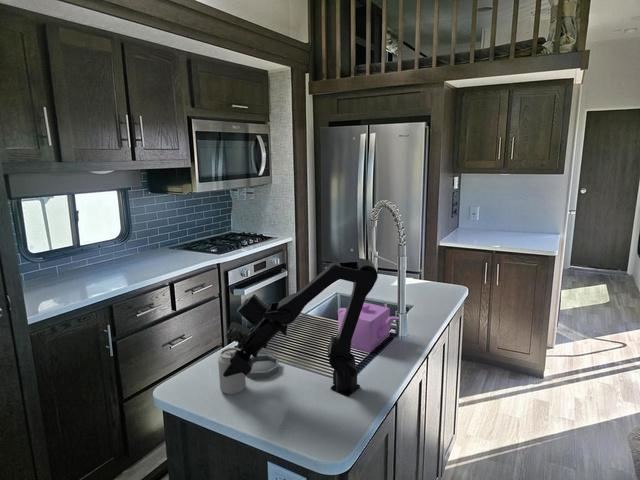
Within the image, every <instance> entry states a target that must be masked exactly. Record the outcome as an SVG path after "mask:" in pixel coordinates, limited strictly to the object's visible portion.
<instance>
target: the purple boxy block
mask: <svg viewBox="0 0 640 480" xmlns="http://www.w3.org/2000/svg"><path fill="white" fill-rule="evenodd" d="M346 309H347V307H341V308H339V309H338V310H337V314H338V317H337V320H338V325H337V326H338V330H337V331H338V333H339V331H340V328H341V325H342V322H343V319H344V316H345V312H346ZM399 319H400V317H399V316H391V308H390V307H386V306H382V305H378V304H373V303H368V302H365V301H364V304H363V307H362V310H361V313H360V316H359V319H358V322H357V325H356V328H355V331H354V334H353V337H352V340H351V349H354V348H355V350H358V349H359V350H358V351H361V350H362V351H361V352H364V351H366V352H365V353H367V352H371V351H372V350H373V349H374V348H376V347H377V346H378V345H379V344H380V343H381V342H383V341H384V340H385V339H386V338H388V337H389V338H390V329H391V326H392V323H393V322H394V321H396V320H399ZM338 333H337V334H338ZM389 338H388V339H389ZM386 340H387V339H386ZM386 340H385V341H386ZM385 341H384V342H385ZM384 342H383V343H384ZM380 345H381V344H380ZM380 345H379V346H380ZM379 346H378V347H379ZM378 347H377V348H378ZM377 348H376V349H377ZM374 350H375V349H374ZM374 350H373V351H374ZM373 351H372V352H373ZM372 352H371V353H372Z"/></svg>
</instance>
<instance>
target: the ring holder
mask: <svg viewBox="0 0 640 480" xmlns="http://www.w3.org/2000/svg"><path fill="white" fill-rule="evenodd" d="M250 358H251V359H252V360H253V366H252V369H251V371H250V372H249V373H248V374H247V375H245V377H247V378H250V379H251V380H259V379H260V380H261V379H269V378H270V377H272V376H274V375H276V374H278V373H279V372H280V370H279V369H280V367H279V365H280V362H279V361H280V360H279V358H278V357H276V356H273V355H271V354H269V353H267V354H258V355H257V356H256V357H255V358H254V357H253V356H252V355H251V357H250Z"/></svg>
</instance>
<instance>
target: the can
mask: <svg viewBox="0 0 640 480" xmlns="http://www.w3.org/2000/svg"><path fill="white" fill-rule="evenodd" d="M236 350H240V349H238V348H237V347H227V348H225V349H223V350H221V351H220V353H219V356H218V357H217V361H218V363H217V364H218V375H219V376H218V377H219V389H220V391H221V392H222V393H224V394H226V395H236V394H239V393H240V392H242V391H243V390H244V389H245V388H246V376H245V375H244V374H243V373H238V374H235V375H231V376H228V377H225V376H223V373H224V372H225V371H226V369H227V368H228V366H229V365H230V364H231V362H230V358H231V356H232V354H234V352H235V351H236Z"/></svg>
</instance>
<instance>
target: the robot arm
mask: <svg viewBox="0 0 640 480" xmlns="http://www.w3.org/2000/svg"><path fill="white" fill-rule="evenodd" d="M378 277H379V273H378V271H377V269H376V266H375V264H374V263H373V262H372V261H371V260H368V259H361V260H359V261H344V262H343V261H333V262H330V264H329V265H328V266H327V267H326V268H325V269H323V271H322V272H320V273H318V275H316V276H315V277H314V278H312V280H311V281H310V282H308V283H307V284H305V285H304V286H303V287H302V288H301V289H300V290H298V291H296V292H294V293H291V294H289V295H288V296H286V297H284V298H282V299H281V300H280V301H275V302H269V303H267V305H266V304H265V303H264V302H263V301H262V300H260V298H259V297H258V296H257V295H256V294H255V293H254V294H252V295H251V296H249V297H248V298H246V299H245V300H244V301H243V302H242V303H241V305H240V306H239V307H238V308H237V310H236V312H237V313H238V314H239V315H240V316H242V317H243V318H244V319H245V320H246V321H247V322H248V323H250V325H254V326H252V327H251V328H248V327H247V326H245V325H243V324H240V323H238V322H235V321H231V324H230V326H229V328H228V329H227V333H226V334H225V337H226V338H227V339H228V340H230V341H233V342H236V343H237V347H236V348H238V349H240V350H236V351H235V352H234V354H232V356H231V358H230V362H231V364H230V365H229V366H228V368H227V369H226V371H225V372H224V373H223V376H225V377H228V376H231V375H235V374H238V373H243V374H244V375H247V374H248V373H249V372H250V371H251V369H252V366H253V360H252V359H251V358H250V357H251V356H253V357H254V358H255V357H256V356H257V355H259V352H260V351H262V349H263V348H264V349H266V348H268V344H269V343H270V341H271V340H273V339H274V338H275V337H276V336H277V335H278V334H279V333H281V334H282V335H284V337H285V336H287V335H288V325H290V324H292V323H293V322H294V321H295V320H296V319H297V318H298V316H299V315H301V313H302V312H303V310H304V308H305V307H306V306H307V305H308V304H309V303H310V302H312V301H313V299H315V298H316V297H317V296H319V295H320V294H321V293H323V291H325V290H326V289H327V288H328V287H330V286H331V285H332V284H333V283H334V282H336V281H337V280H343V281H345V282H350V283H353V284H352V291H351V294H350V297H349V300H348V304H347V307H346V308H347V309H346V312H345V316H344V319H343V322H342V325H341V328H340V331H339V333H337V334H336V336H334V335H330V341H329V344H328V345H327V346H326V347H327V349H326V350H327V358H328V364H329V365H330V367H331V368H332V369H333V371H332V384H333V385H331V386H330V390H333V391H334V392H336V393H338V394H340V395H341V394H342V395H344V396H346V397H350V396H351V395H352V394H354V393H355V392H356V391H357V390H359V389H360V388H361V385H360V384H358V370H357V365H356V359H355V358H356V357H355V355H354V354H353V353H352V352H351V350H352V348H351V340H352V337H353V334H354V331H355V328H356V325H357V322H358V319H359V316H360V313H361V310H362V307H363V304H364V302H365V300H366V298H367V296H368V295H369V293H371V292H372V290H373V288H374V286H375V285H376V282H377V281H378ZM255 325H256V326H255Z"/></svg>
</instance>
